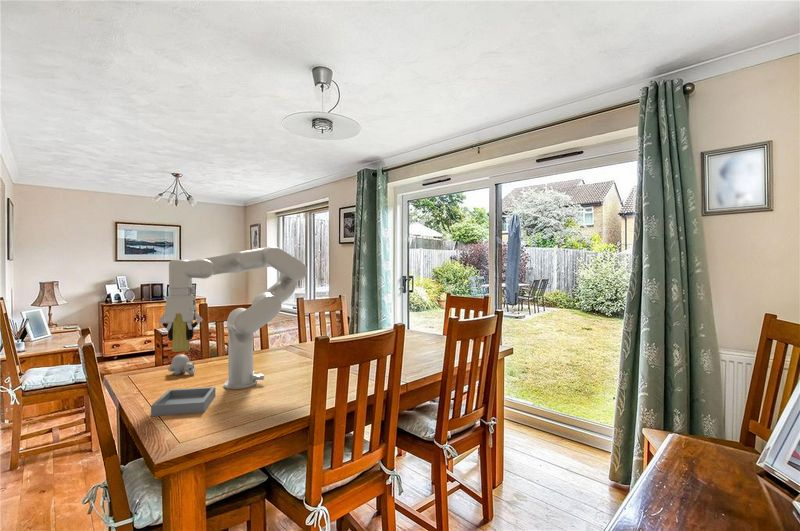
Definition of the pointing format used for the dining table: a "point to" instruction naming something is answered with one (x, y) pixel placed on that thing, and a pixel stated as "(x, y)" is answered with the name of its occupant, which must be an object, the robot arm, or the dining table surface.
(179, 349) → the vase
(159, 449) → the dining table surface
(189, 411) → the tray
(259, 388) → the dining table surface
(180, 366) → the chubby cartoon animal
